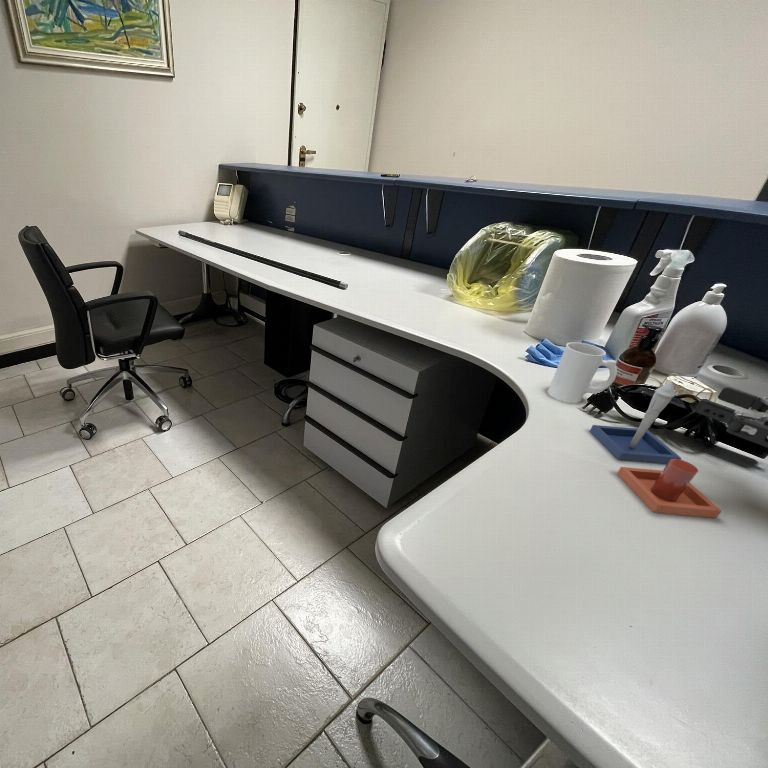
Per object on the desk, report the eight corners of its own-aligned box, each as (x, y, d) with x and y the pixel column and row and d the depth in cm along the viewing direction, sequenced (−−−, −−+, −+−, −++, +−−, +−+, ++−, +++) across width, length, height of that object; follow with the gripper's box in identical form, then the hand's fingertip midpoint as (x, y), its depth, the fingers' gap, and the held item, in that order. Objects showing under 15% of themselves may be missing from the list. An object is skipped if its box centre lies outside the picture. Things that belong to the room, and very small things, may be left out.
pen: (641, 447, 75) (682, 381, 68) (639, 454, 73) (681, 387, 66) (624, 441, 76) (663, 376, 69) (621, 447, 75) (660, 381, 68)
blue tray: (641, 437, 79) (646, 429, 78) (675, 467, 71) (681, 458, 70) (588, 433, 80) (592, 424, 78) (616, 462, 72) (621, 453, 71)
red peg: (666, 488, 66) (687, 459, 63) (682, 502, 63) (704, 473, 60) (645, 486, 66) (664, 457, 63) (659, 500, 63) (680, 471, 60)
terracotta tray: (670, 481, 68) (677, 471, 67) (714, 521, 61) (722, 511, 60) (615, 476, 69) (621, 466, 68) (651, 514, 62) (658, 505, 61)
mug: (543, 397, 91) (564, 348, 85) (548, 386, 96) (568, 339, 90) (598, 414, 85) (625, 363, 79) (601, 401, 90) (626, 352, 84)
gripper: (912, 419, 53) (741, 368, 65) (885, 451, 47) (703, 387, 60) (868, 463, 57) (714, 407, 69) (838, 497, 51) (676, 429, 63)
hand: (709, 398), depth 64 cm, fingers open, 8 cm apart
